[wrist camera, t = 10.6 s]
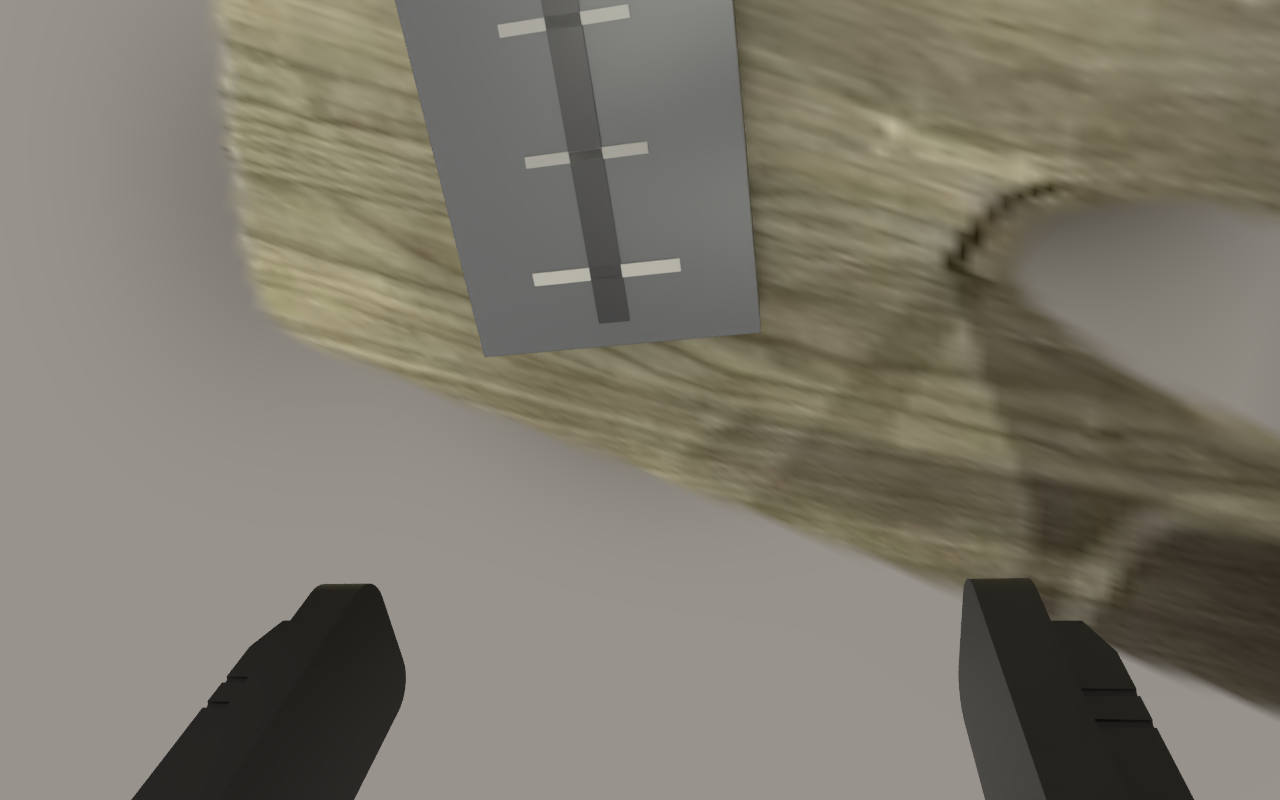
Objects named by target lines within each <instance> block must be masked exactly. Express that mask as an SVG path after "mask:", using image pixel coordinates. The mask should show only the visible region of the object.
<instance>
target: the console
mask: <svg viewBox="0 0 1280 800" xmlns="http://www.w3.org/2000/svg"><path fill="white" fill-rule="evenodd" d="M395 3H396V7H397V11H398V15H399V19H400V23H401V27H402V31H403V35H404V39H405V43H406V47H407V51H408V55H409V59H410V63H411V67H412V71H413V75H414V78H415V82H416V86H417V90H418V94H419V98H420V102H421V106H422V110H423V114H424V118H425V122H426V126H427V130H428V134H429V138H430V142H431V146H432V150H433V154H434V158H435V162H436V166H437V170H438V174H439V178H440V182H441V186H442V190H443V194H444V198H445V202H446V206H447V210H448V214H449V218H450V222H451V226H452V230H453V234H454V238H455V242H456V246H457V250H458V254H459V258H460V262H461V266H462V270H463V274H464V278H465V282H466V286H467V289H468V293H469V297H470V301H471V305H472V309H473V313H474V317H475V321H476V325H477V329H478V333H479V337H480V341H481V345H482V349H483V353H484V357H492V356H503V355H514V354H526V353H537V352H548V351H559V350H570V349H582V348H593V347H604V346H615V345H627V344H638V343H649V342H660V341H672V340H683V339H694V338H705V337H717V336H728V335H739V334H750V333H761V325H760V301H759V290H758V278H757V266H756V254H755V242H754V231H753V219H752V207H751V195H750V184H749V172H748V160H747V148H746V137H745V125H744V113H743V101H742V89H741V78H740V66H739V54H738V42H737V31H736V19H735V7H734V0H395Z"/></svg>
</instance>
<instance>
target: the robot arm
mask: <svg viewBox="0 0 1280 800" xmlns="http://www.w3.org/2000/svg"><path fill="white" fill-rule="evenodd" d="M405 684H406V672H405V665H404V661H403V658H402V655H401V652H400V649H399V646H398V643H397V640H396V637H395V634H394V631H393V628H392V625H391V622H390V619H389V616H388V613H387V610H386V607H385V604H384V601H383V598H382V595H381V593H380V591H379V590H378V588H377V587H376V586H375V585H373V584H323V585H320V586H317V587H316V588H315V589H314V590H313V591H312V592H311V593H310V595H309V596H308V597H307V599H306V600H305V602H304V603H303V604H302V606H301V607H300V608H299V610H298V611H297V612H296V614H295V615H294V616H293V618H292V619H291V620H290V621H282V622H281V623H280V624H278V625H277V626H276V627H274V628H273V629H272V630H271V631H269V632H268V633H267V634H265V635H264V636H263V637H262V638H260V639H259V640H258V641H256V642H255V643H254V644H253V645H251V646H250V647H249V649H248V650H247V651H246V652H245V654H244V655H243V656H242V658H241V659H240V660H239V661H238V663H237V664H236V665H235V667H234V668H233V669H232V670H231V672H230V673H229V674H228V676H227V681H226V683H221V685H220V686H219V687H218V689H217V690H216V691H215V692H214V694H213V695H212V696H211V698H210V699H209V700H208V706H207V708H202V709H201V711H200V712H199V713H198V714H197V716H196V717H195V718H194V720H193V721H192V722H191V723H190V725H189V726H188V727H187V729H186V730H185V731H184V733H183V734H182V735H181V736H180V738H179V739H178V741H177V742H176V743H175V744H174V745H173V747H172V748H171V749H170V751H169V752H168V753H167V755H166V756H165V757H164V758H163V760H162V761H161V762H160V764H159V765H158V766H157V768H156V769H155V770H154V771H153V773H152V774H151V775H150V777H149V778H148V779H147V780H146V782H145V783H144V784H143V786H142V787H141V788H140V789H139V791H138V792H137V793H136V795H135V796H134V797H133V799H132V800H354V799H355V797H356V795H357V793H358V791H359V789H360V787H361V785H362V782H363V781H364V779H365V777H366V775H367V773H368V771H369V769H370V767H371V765H372V763H373V761H374V759H375V757H376V755H377V753H378V751H379V749H380V747H381V745H382V743H383V741H384V739H385V737H386V735H387V733H388V731H389V729H390V727H391V725H392V723H393V721H394V719H395V717H396V715H397V713H398V711H399V709H400V707H401V704H402V701H403V697H404V692H405ZM959 690H960V700H961V706H962V712H963V717H964V721H965V725H966V729H967V733H968V736H969V740H970V744H971V748H972V752H973V755H974V759H975V763H976V767H977V770H978V774H979V778H980V782H981V785H982V789H983V793H984V796H985V800H1194V799H1193V797H1192V795H1191V793H1190V791H1189V789H1188V787H1187V785H1186V783H1185V781H1184V779H1183V778H1182V776H1181V774H1180V772H1179V770H1178V768H1177V766H1176V764H1175V762H1174V760H1173V758H1172V756H1171V754H1170V753H1169V751H1168V749H1167V747H1166V745H1165V743H1164V741H1163V739H1162V737H1161V735H1160V734H1159V731H1158V730H1157V728H1154V727H1153V723H1152V718H1151V716H1150V714H1149V712H1148V710H1147V708H1146V707H1145V705H1144V703H1143V701H1142V699H1141V697H1140V696H1137V693H1136V687H1135V685H1134V683H1133V682H1132V680H1131V678H1130V676H1129V674H1128V672H1127V670H1126V668H1125V666H1124V664H1123V662H1122V660H1121V659H1120V657H1119V655H1118V653H1117V651H1115V650H1114V649H1113V648H1112V647H1111V646H1110V645H1109V644H1108V643H1106V642H1105V641H1104V640H1103V639H1102V638H1101V637H1100V636H1099V635H1097V634H1096V633H1095V632H1094V631H1093V630H1092V629H1091V628H1090V627H1089V626H1087V625H1086V624H1085V623H1084V622H1083V621H1051V620H1050V618H1049V616H1048V613H1047V611H1046V609H1045V606H1044V604H1043V602H1042V600H1041V597H1040V595H1039V593H1038V591H1037V588H1036V586H1035V584H1034V583H1033V581H1032V580H1031V579H1029V578H1005V579H967V580H966V581H965V584H964V591H963V605H962V622H961V638H960V654H959Z"/></svg>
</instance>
